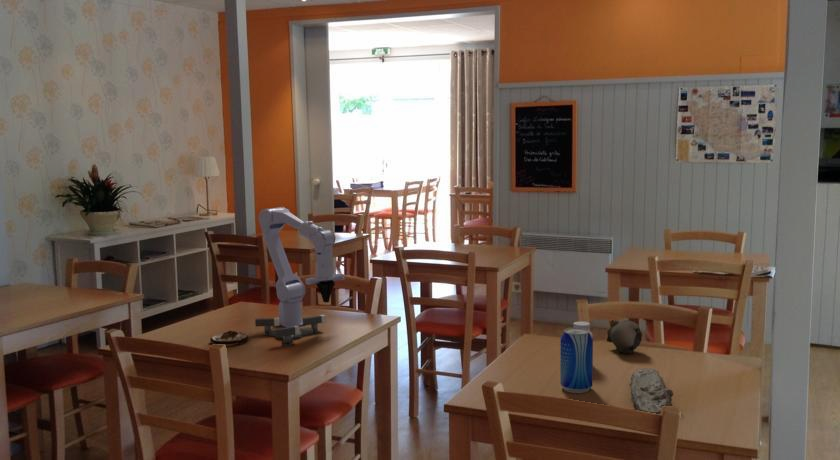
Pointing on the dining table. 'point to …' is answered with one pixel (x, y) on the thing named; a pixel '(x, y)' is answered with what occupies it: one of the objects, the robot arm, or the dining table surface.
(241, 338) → the cream topped cake
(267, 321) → the footscrew rear
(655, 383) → the elongated rock
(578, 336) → the beer can
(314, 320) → the post
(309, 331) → the levelling base
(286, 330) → the two-tone rectangular bar
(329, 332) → the dining table surface
